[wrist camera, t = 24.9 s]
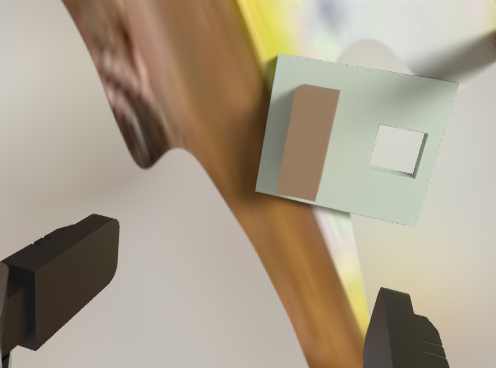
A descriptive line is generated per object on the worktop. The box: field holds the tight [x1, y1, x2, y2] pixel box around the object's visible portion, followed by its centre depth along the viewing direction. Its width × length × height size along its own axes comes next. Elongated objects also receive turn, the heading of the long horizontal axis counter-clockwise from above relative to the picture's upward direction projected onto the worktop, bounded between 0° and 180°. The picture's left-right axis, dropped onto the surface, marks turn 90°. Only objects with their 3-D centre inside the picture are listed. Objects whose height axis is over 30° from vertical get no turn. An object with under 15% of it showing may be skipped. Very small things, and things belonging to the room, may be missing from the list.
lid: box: [255, 54, 459, 227], centre depth 33 cm, size 14×12×6 cm
